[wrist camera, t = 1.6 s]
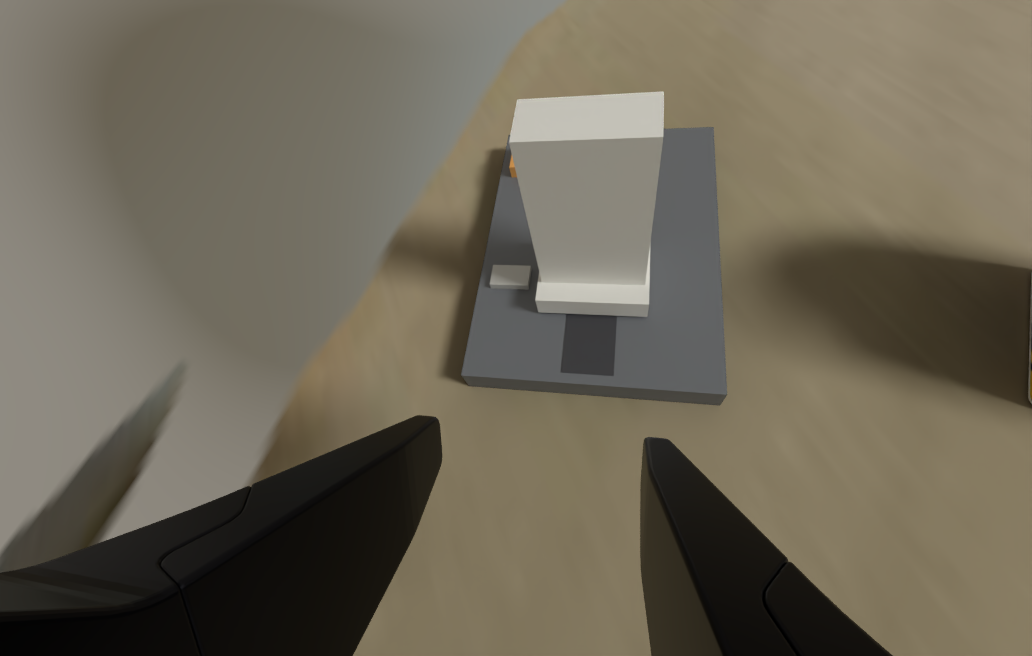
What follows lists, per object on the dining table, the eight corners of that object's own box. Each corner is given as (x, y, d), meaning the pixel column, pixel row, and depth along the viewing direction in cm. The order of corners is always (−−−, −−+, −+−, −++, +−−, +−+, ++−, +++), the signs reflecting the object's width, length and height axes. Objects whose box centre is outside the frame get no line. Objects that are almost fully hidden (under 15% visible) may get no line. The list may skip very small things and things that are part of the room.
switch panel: (720, 405, 22) (731, 388, 20) (469, 385, 25) (456, 369, 23) (708, 147, 29) (716, 115, 27) (512, 153, 31) (506, 124, 29)
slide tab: (647, 316, 23) (670, 161, 14) (538, 312, 24) (498, 166, 15) (648, 247, 24) (670, 70, 16) (547, 245, 26) (515, 79, 17)
